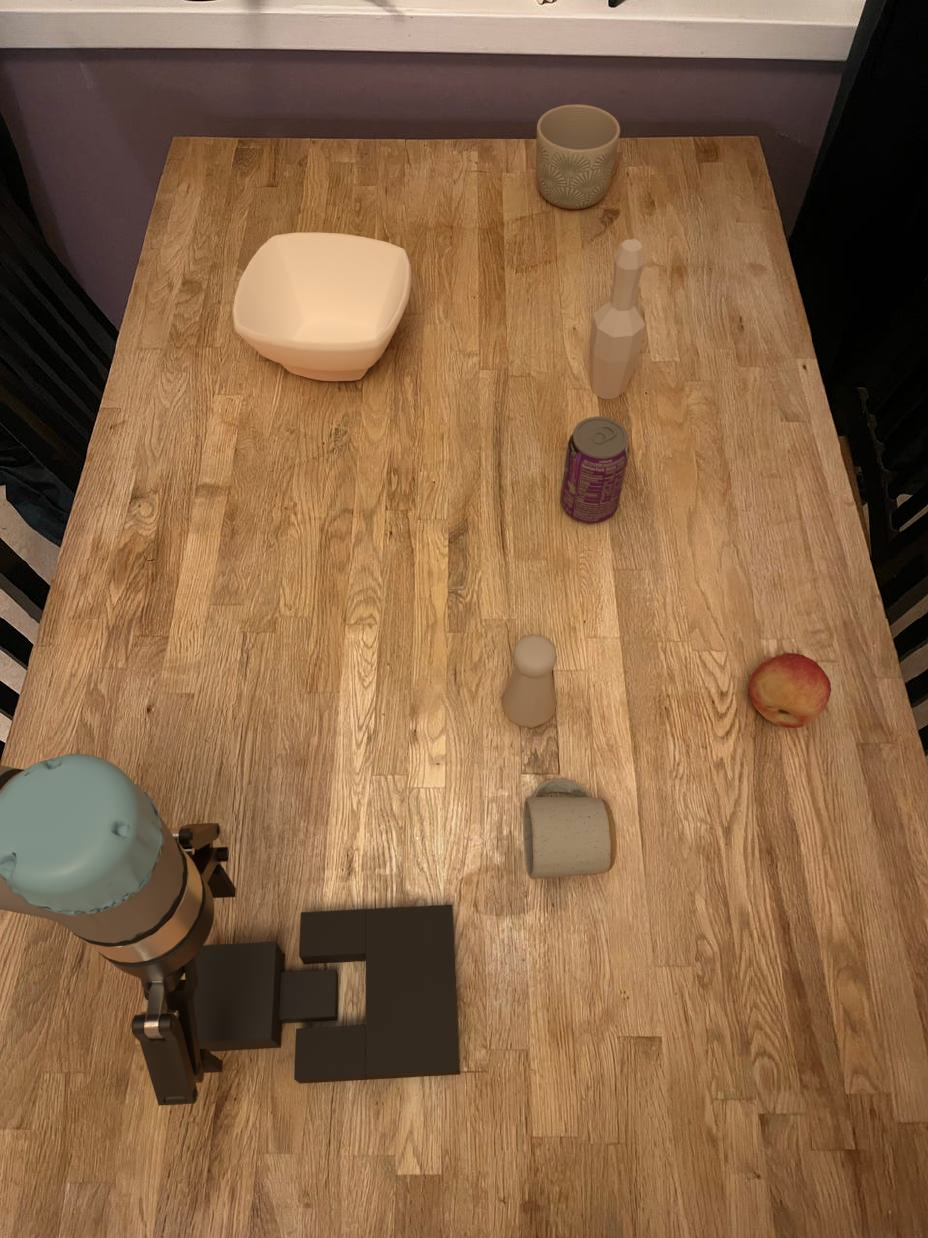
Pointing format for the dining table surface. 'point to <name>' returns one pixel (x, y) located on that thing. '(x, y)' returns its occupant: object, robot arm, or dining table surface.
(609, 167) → the planter
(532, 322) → the dining table surface
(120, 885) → the robot arm
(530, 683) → the salt shaker
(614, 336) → the low poly bottle
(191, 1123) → the dining table surface
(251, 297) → the bowl
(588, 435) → the beverage can
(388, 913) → the dark u-shaped block
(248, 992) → the tab pad
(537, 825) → the ceramic mug
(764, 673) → the fruit
